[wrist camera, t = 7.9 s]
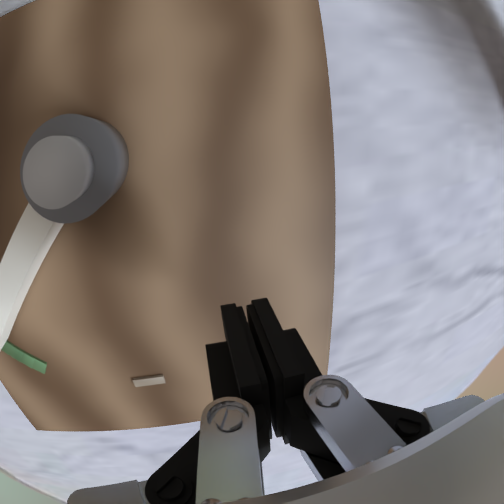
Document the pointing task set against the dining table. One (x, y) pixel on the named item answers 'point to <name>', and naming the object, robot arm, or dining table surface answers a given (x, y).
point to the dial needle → (57, 196)
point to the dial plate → (168, 198)
